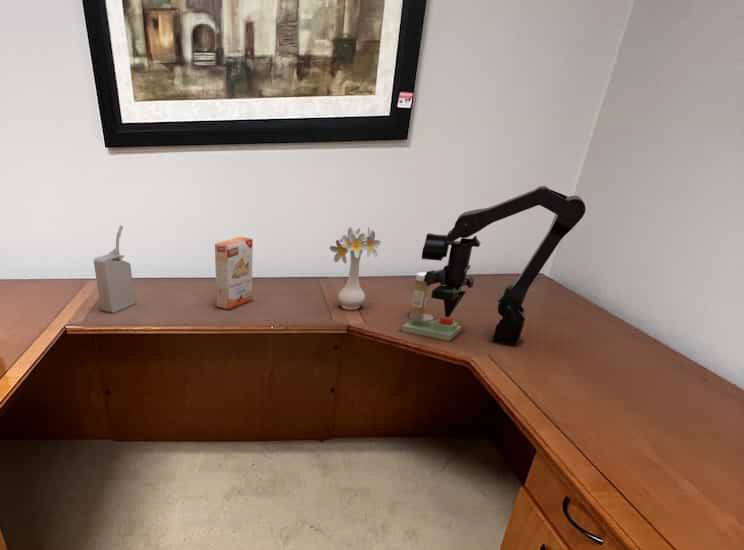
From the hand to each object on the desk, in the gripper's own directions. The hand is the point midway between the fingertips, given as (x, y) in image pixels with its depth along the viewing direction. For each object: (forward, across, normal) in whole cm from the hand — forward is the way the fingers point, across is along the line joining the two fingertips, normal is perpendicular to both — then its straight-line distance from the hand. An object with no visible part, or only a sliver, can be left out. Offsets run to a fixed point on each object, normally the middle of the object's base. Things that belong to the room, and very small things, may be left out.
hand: (447, 316), depth 168 cm
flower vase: (+6, -6, -36) cm, 37 cm away
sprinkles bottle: (+6, -12, -14) cm, 19 cm away
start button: (+2, 0, 0) cm, 2 cm away
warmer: (+5, 0, -4) cm, 7 cm away
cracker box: (+6, +12, -72) cm, 73 cm away
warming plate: (+2, 0, -8) cm, 8 cm away
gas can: (+5, +37, -104) cm, 110 cm away
